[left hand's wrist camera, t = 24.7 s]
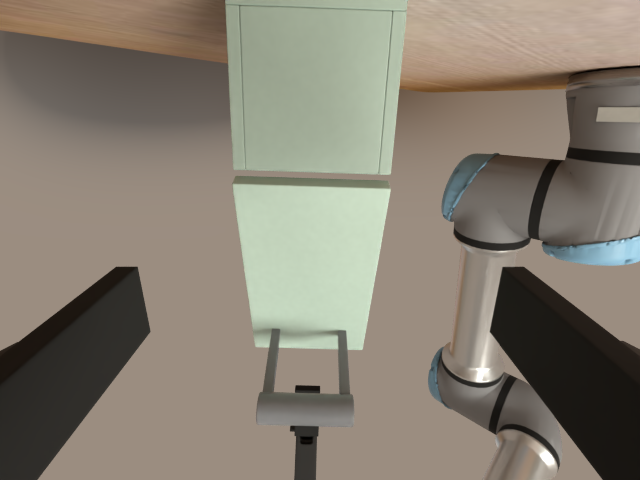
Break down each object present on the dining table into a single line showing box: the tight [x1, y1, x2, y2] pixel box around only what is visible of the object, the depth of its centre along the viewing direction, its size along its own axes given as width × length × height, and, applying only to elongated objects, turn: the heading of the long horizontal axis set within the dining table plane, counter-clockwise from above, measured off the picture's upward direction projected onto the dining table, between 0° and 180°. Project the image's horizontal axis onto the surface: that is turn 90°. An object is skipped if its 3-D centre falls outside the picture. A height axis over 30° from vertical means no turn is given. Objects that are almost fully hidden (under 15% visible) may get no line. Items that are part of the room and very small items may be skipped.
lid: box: [232, 176, 391, 427], centre depth 23 cm, size 16×10×9 cm
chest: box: [225, 0, 408, 175], centre depth 27 cm, size 15×10×9 cm, turn 0°
